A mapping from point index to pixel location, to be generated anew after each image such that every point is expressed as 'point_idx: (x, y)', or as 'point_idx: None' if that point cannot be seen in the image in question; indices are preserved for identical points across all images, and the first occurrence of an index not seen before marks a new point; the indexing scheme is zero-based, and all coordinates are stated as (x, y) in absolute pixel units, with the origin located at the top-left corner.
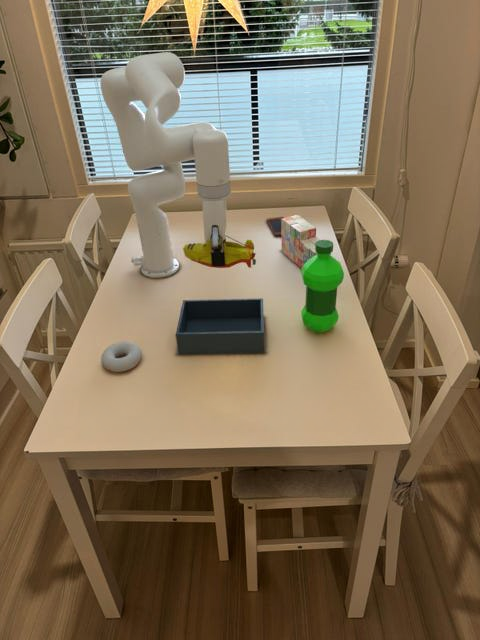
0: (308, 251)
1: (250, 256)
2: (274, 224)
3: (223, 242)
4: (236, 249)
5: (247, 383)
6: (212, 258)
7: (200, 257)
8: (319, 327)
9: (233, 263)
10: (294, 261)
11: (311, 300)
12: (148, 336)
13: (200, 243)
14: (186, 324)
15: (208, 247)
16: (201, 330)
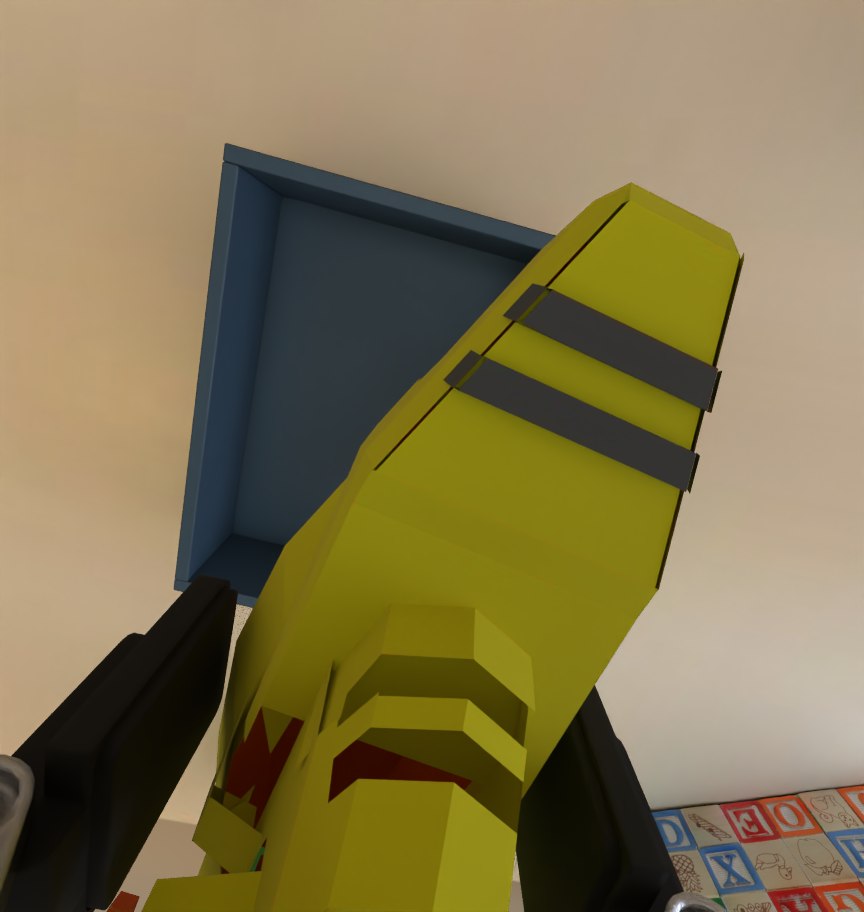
0: None
1: None
2: None
3: (536, 903)
4: None
5: (62, 438)
6: (138, 656)
7: (346, 479)
8: None
9: (242, 776)
10: (795, 798)
11: (261, 850)
12: (461, 23)
13: (653, 592)
14: (486, 252)
15: (314, 723)
16: (418, 319)
